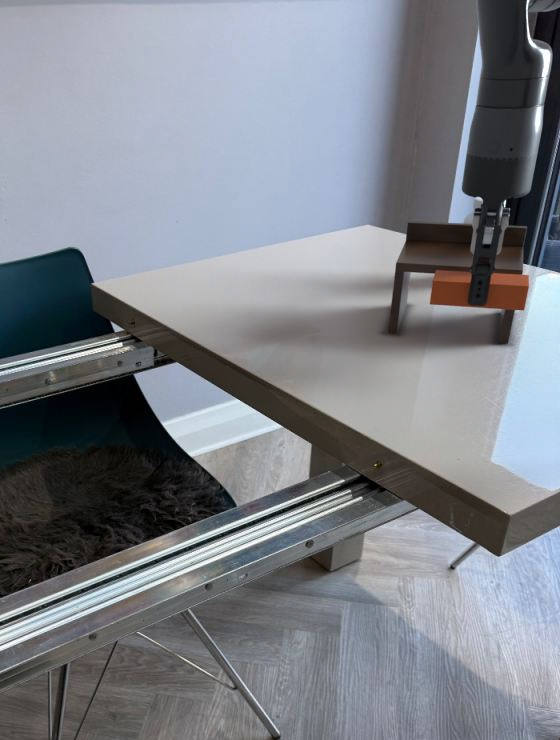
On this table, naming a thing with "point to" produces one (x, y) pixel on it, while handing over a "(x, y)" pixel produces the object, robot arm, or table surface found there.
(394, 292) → the shelf
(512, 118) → the robot arm
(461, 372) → the table surface
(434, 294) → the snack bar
